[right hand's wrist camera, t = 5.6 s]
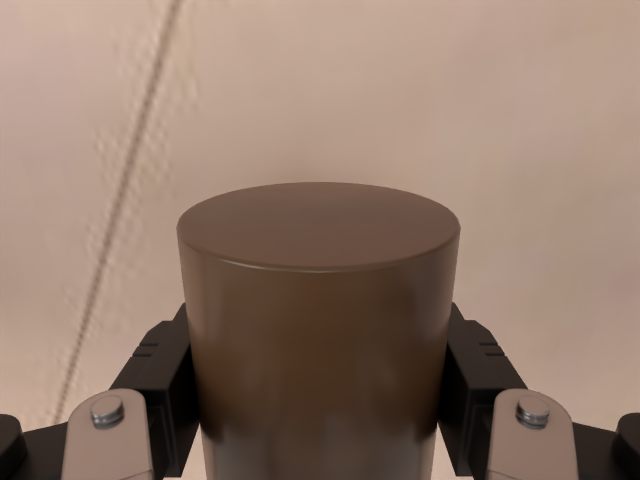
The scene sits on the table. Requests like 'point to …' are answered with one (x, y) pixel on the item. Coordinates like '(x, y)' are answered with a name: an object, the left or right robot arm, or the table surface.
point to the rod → (318, 329)
